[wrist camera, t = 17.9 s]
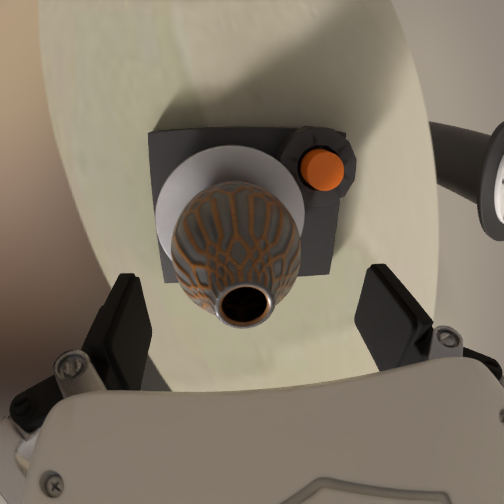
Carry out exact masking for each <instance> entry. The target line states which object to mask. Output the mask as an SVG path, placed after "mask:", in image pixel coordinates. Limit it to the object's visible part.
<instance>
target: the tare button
mask: <svg viewBox="0 0 504 504" xmlns="http://www.w3.org/2000/svg"><path fill="white" fill-rule="evenodd" d="M300 170H301V174H302V176H303V178H304V179H305V180H306V181H307V182H308V183H309V184H310V185H311V186H313V187H314V188H315V189H317V190H321V191H328V190H332V189H334V188H335V187H337V186H338V185H339V184H340V182H341V181H342V179H343V176H344V166H343V163H342V161H341V159H340V158H339V157H338V156H337V155H336V154H334V153H331V152H329V151H327V150H324V149H314V150H311V151H309V152H308V153H307V154H306V155H305V156H304V157H303V159H302V161H301V166H300Z"/></svg>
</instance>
